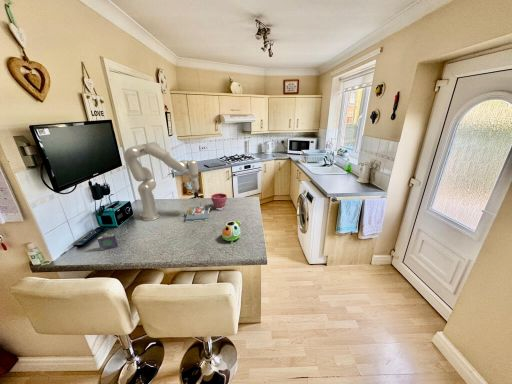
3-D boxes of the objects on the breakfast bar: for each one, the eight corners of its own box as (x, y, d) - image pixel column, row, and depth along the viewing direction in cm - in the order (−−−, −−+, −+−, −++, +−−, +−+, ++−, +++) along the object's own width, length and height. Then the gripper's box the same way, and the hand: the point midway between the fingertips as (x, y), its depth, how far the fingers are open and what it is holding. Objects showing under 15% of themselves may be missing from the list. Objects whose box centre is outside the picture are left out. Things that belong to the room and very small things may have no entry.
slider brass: (188, 214, 170) (187, 210, 169) (189, 212, 173) (188, 208, 171) (192, 214, 170) (191, 209, 169) (192, 212, 173) (192, 208, 172)
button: (195, 213, 169) (195, 211, 168) (196, 210, 173) (196, 208, 172) (200, 212, 169) (200, 210, 169) (201, 210, 173) (201, 208, 173)
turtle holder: (247, 233, 147) (247, 218, 143) (233, 245, 132) (232, 230, 128) (233, 228, 153) (233, 214, 149) (218, 240, 138) (217, 225, 134)
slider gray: (205, 210, 178) (204, 205, 177) (205, 208, 181) (205, 204, 180) (208, 209, 179) (208, 205, 177) (208, 208, 181) (208, 204, 180)
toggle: (199, 206, 182) (199, 201, 182) (200, 206, 183) (199, 201, 184) (201, 206, 182) (201, 201, 182) (201, 206, 183) (201, 201, 184)
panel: (185, 221, 163) (184, 217, 162) (191, 209, 186) (190, 205, 184) (207, 220, 165) (207, 215, 164) (210, 208, 188) (210, 204, 186)
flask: (100, 251, 127) (96, 236, 123) (101, 248, 129) (97, 234, 125) (117, 247, 131) (113, 233, 127) (118, 245, 133) (114, 231, 129)
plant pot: (229, 206, 193) (228, 193, 189) (224, 212, 181) (223, 199, 176) (215, 204, 196) (214, 192, 192) (209, 210, 184) (208, 197, 179)
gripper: (197, 178, 155) (199, 200, 161) (199, 173, 169) (202, 193, 175) (187, 178, 154) (190, 200, 160) (190, 173, 168) (193, 194, 174)
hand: (196, 196), depth 168 cm, fingers closed
